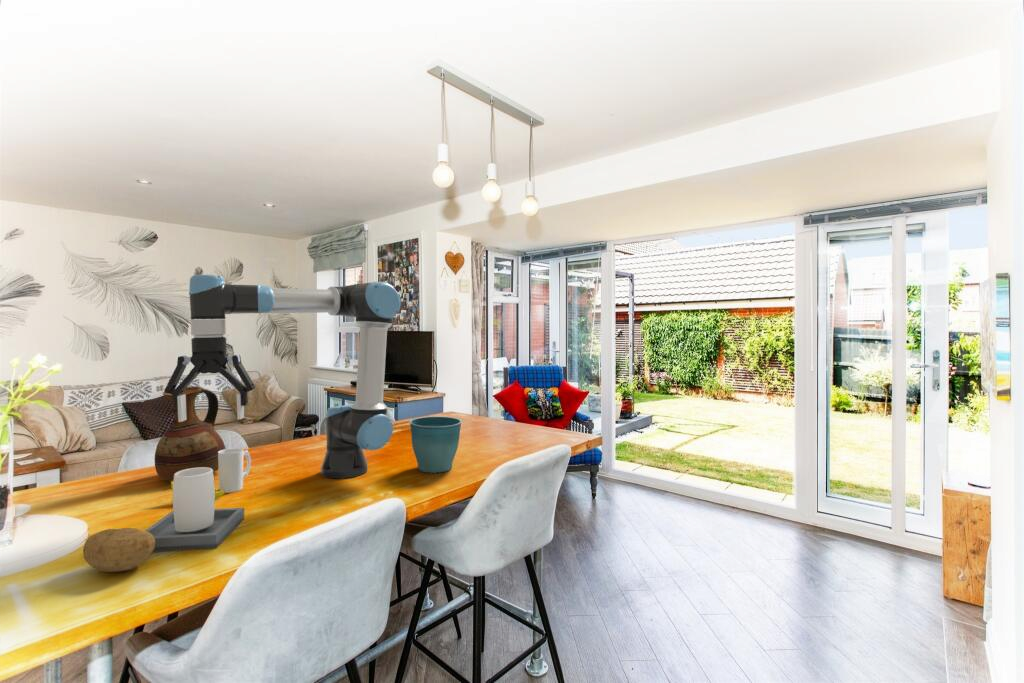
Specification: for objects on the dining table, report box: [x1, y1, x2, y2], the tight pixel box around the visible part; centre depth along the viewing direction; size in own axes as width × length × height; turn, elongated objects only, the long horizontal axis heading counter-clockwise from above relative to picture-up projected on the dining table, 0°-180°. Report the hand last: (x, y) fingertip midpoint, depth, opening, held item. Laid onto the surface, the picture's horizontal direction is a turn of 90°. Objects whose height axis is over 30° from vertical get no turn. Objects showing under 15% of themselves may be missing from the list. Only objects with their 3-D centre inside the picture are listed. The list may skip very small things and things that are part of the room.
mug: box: [218, 447, 252, 494], centre depth 152 cm, size 10×7×12 cm, turn 155°
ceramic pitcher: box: [154, 385, 227, 482], centre depth 164 cm, size 20×20×30 cm
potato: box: [82, 527, 155, 573], centre depth 102 cm, size 10×14×8 cm
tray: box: [144, 507, 245, 553], centre depth 119 cm, size 17×17×3 cm
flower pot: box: [409, 416, 462, 474], centre depth 175 cm, size 18×18×17 cm
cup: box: [172, 467, 216, 532], centre depth 118 cm, size 8×8×14 cm
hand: (212, 419), depth 126 cm, fingers open, 13 cm apart
